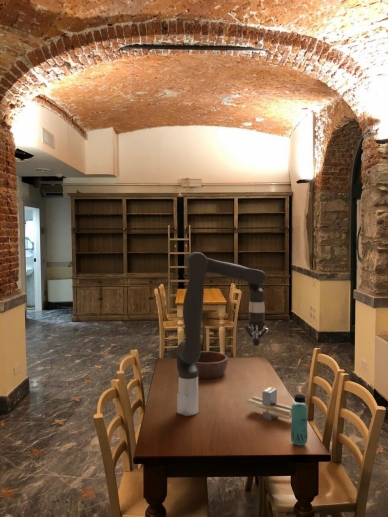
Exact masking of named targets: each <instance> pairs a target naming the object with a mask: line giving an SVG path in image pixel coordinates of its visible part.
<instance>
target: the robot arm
mask: <svg viewBox="0 0 388 517" xmlns="http://www.w3.org/2000/svg"><path fill="white" fill-rule="evenodd" d="M184 265H185V267H186V268H187V269H188V282H187V287H186V291H185V293H184V297H183V301H182V302H183V303H182V319H183V326H184V330H185V337H184V338H185V339H184V340H182V341H181V342H179V344H178V345H177V349H176V367H177V373H178V392H177V393H176V395H177V397H176V398H177V399H176V401H177V402H176V403H177V405H176V406H177V409H176V410H177V411H176V412H177V414H179V415H182V416H184V417H189V416H194V415H196V414H198V413H199V378H198V369H197V367H196V364H195V363H196V362H197V361H198V360H199V358H200V354H201V346H202V345H201V333H202V332H201V330H202V319H203V310H204V295H205V294H204V293H205V292H204V290H205V281H206V280H205V278H206V274H207V273H211V274H215V275H220V276H222V277H225V278H228V279H233V280H237V281H241V282H242V281H243V282H247V285H248V289H249V302H248V303H249V305H248V324H246V325H244V329H245V330H246V332H247V334H248V335H249V337H252V338H253V340H252V343H253V346H254V347H259V345H260V343H261V338H264V337H265V335H266V334H267V333H268V332H269V331H270V328H269V327H267V326H266V324H265V320H266V319H265V315H266V314H265V311H266V310H265V308H266V307H265V291H264V290H263V288H262V285H263V284H265V283H266V281H267V274H266V273H265V272H264V271H263V270H260V269H255V268H251V267H247V266H243V265H240V264H235V263H231V262H227V261H220V260H216V259H213V258H209V257H207V256H206V255H205V254H204V253H202V252H197V251H193V252H190V253H188V254H187V255H186V257H185V258H184Z"/></svg>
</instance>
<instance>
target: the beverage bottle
mask: <svg viewBox="0 0 388 517" xmlns="http://www.w3.org/2000/svg"><path fill="white" fill-rule="evenodd" d="M305 402H306V395H304V394H299V393H298V394H295V395H294V403H292V405H291V407H292V418H291V423H290V440H291V443H293V444H294V445H297V446H304V445H306V444H307V442H308V432H309V431H308V420H309V419H308V410H309V407H308V405H307V404H305Z"/></svg>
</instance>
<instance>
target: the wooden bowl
mask: <svg viewBox="0 0 388 517" xmlns="http://www.w3.org/2000/svg"><path fill="white" fill-rule="evenodd" d="M228 360H229V358H228V355H226V354H224V353H222V352H218V351H209V350H206V351H205V350H204V351H201V354H200V358H199V360H198V361H197V362H196V363H195V364H196V367H197V369H198V379H201V378H202V379H201V380H212V379H213V378H214V379H219V378H220V376H221V377H222V376H223V375H224V374H225V373H226V371H227V366H228Z"/></svg>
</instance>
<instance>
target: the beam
mask: <svg viewBox="0 0 388 517" xmlns="http://www.w3.org/2000/svg"><path fill="white" fill-rule="evenodd" d="M246 405H247V408H249V409H251V410H252V409H253V410H256V411H260V412H262V420H266V421H269V422H272V421H273V420H274V419H276V418H277V417H279V418H283V419H285V420H291V419H292V405H291V406H290V405H286V404H283V403H280V402H276V403H274V406H272V405H271V406H268V405H265V404H262V397H259V396H255V395H253V396H252V397H251V398H248V399H247V404H246Z"/></svg>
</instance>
